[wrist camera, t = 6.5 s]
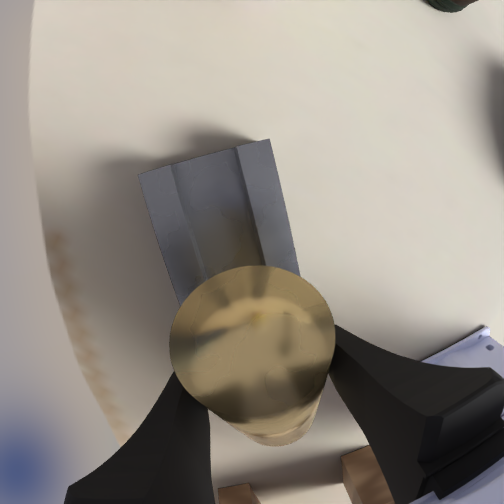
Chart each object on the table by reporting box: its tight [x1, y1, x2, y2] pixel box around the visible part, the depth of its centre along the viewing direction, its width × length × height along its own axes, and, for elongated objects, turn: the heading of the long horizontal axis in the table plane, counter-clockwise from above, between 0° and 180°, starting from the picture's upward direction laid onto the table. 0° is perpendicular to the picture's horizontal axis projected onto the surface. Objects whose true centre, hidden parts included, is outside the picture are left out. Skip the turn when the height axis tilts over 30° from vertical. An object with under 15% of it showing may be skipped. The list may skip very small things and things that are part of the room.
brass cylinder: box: [169, 266, 335, 447], centre depth 14 cm, size 5×12×5 cm
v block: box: [138, 139, 300, 306], centre depth 17 cm, size 6×11×3 cm, turn 14°
